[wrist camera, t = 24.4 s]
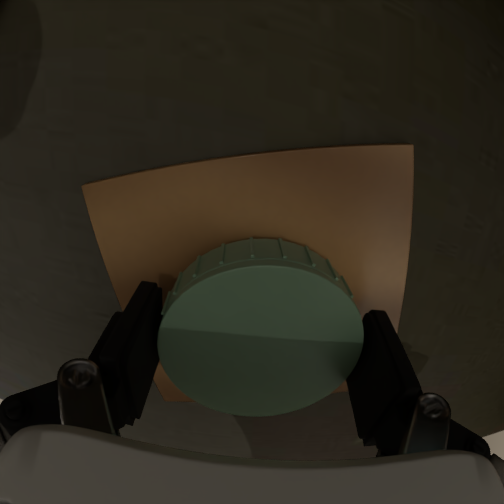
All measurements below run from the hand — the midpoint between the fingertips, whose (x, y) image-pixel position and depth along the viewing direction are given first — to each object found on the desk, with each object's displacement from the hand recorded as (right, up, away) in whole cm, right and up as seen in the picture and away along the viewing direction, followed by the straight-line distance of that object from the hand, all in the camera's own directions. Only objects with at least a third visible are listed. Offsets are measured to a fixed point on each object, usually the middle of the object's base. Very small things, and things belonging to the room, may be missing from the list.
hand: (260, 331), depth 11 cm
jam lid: (0, 0, -1) cm, 1 cm away
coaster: (0, +1, +2) cm, 2 cm away
